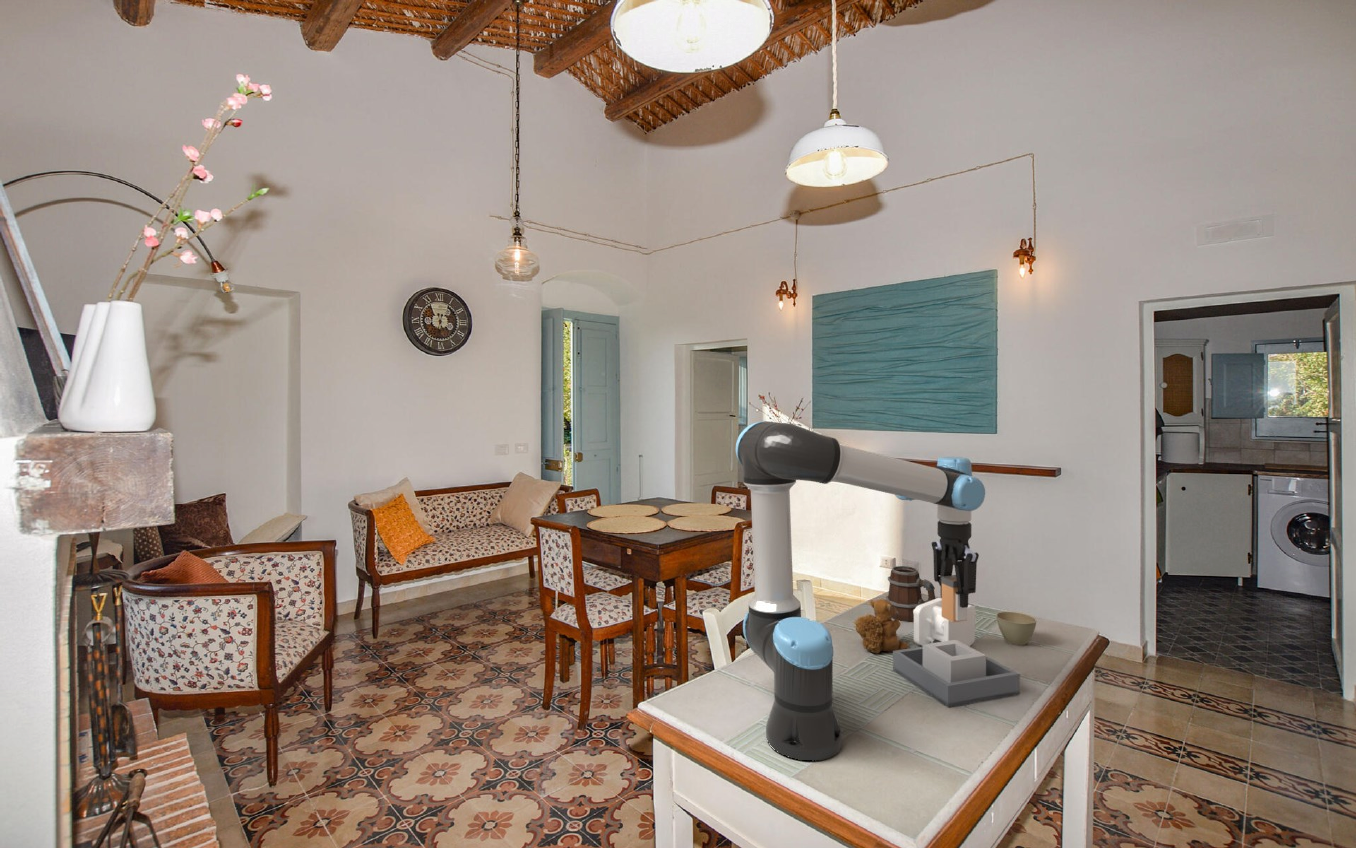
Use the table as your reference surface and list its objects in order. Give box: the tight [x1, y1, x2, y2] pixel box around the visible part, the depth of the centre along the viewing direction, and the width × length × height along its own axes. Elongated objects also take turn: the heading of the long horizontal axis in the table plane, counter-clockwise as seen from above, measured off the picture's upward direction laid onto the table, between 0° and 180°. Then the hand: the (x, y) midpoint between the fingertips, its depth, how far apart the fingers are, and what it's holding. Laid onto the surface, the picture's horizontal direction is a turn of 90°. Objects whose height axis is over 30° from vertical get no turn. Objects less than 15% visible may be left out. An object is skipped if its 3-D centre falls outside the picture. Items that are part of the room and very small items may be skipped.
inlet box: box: [892, 640, 1021, 709], centre depth 149 cm, size 20×20×8 cm
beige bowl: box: [995, 611, 1037, 646], centre depth 173 cm, size 10×10×7 cm
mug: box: [885, 565, 936, 623], centre depth 193 cm, size 16×12×15 cm
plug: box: [941, 574, 967, 622], centre depth 148 cm, size 4×4×10 cm
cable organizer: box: [913, 597, 976, 647], centre depth 171 cm, size 15×11×12 cm
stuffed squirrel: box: [853, 598, 909, 655], centre depth 169 cm, size 10×14×13 cm
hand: (954, 616), depth 148 cm, fingers closed on plug, 4 cm apart
